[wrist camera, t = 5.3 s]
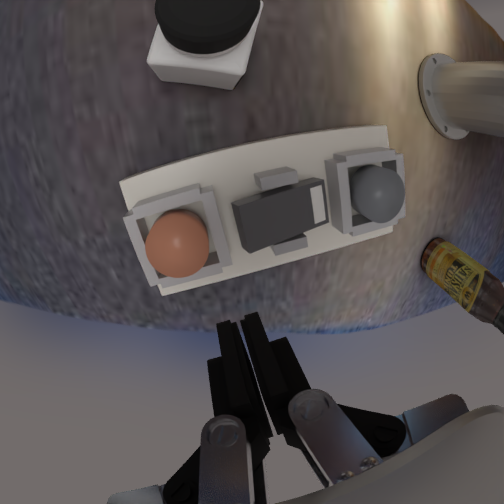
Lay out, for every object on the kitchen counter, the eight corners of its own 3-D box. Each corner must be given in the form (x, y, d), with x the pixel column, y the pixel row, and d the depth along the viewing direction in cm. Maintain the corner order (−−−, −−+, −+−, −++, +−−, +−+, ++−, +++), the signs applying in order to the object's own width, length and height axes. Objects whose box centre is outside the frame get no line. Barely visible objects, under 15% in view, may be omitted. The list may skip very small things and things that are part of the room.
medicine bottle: (233, 91, 22) (258, 57, 11) (159, 81, 20) (126, 42, 10) (249, 30, 19) (282, -31, 9) (177, 19, 18) (165, -46, 7)
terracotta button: (199, 201, 21) (198, 209, 19) (214, 255, 24) (216, 268, 21) (142, 218, 21) (136, 228, 19) (161, 269, 23) (158, 284, 21)
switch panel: (370, 124, 25) (403, 126, 20) (378, 223, 31) (407, 241, 25) (127, 176, 24) (109, 188, 18) (165, 281, 29) (159, 312, 24)
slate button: (387, 161, 23) (403, 165, 20) (390, 209, 25) (405, 217, 23) (345, 168, 22) (359, 173, 20) (349, 219, 25) (363, 228, 22)
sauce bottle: (424, 236, 33) (528, 310, 15) (448, 236, 34) (541, 299, 16) (413, 276, 36) (501, 358, 18) (438, 273, 37) (519, 343, 19)
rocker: (313, 177, 23) (324, 179, 22) (318, 218, 25) (329, 222, 24) (230, 202, 21) (238, 206, 20) (242, 247, 23) (249, 254, 21)
